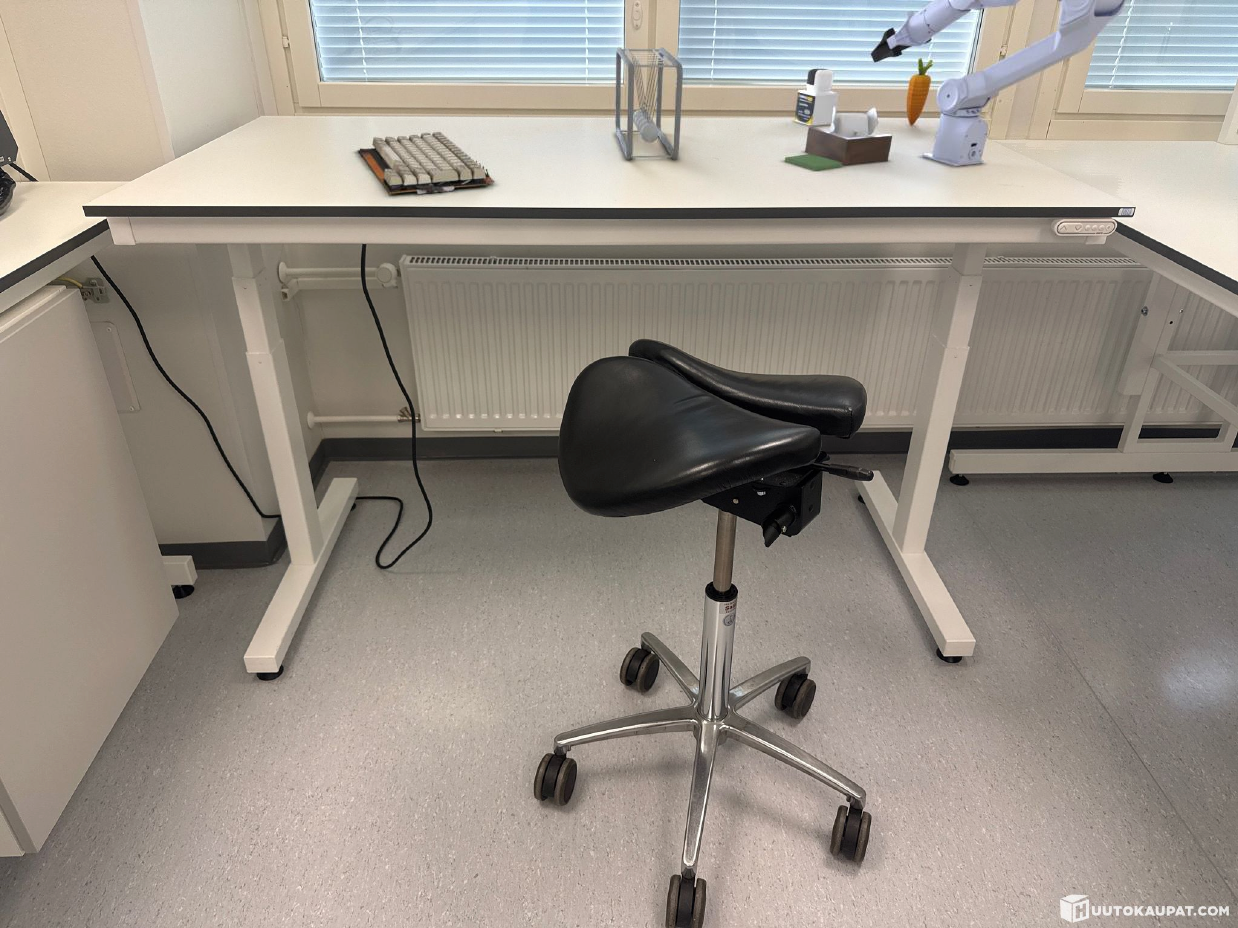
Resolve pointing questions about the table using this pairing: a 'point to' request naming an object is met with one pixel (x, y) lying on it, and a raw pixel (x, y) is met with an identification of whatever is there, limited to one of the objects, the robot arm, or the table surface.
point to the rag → (813, 162)
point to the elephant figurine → (854, 123)
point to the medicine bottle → (817, 99)
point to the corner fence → (848, 147)
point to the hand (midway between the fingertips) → (884, 52)
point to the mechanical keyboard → (423, 164)
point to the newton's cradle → (641, 116)
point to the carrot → (918, 92)
